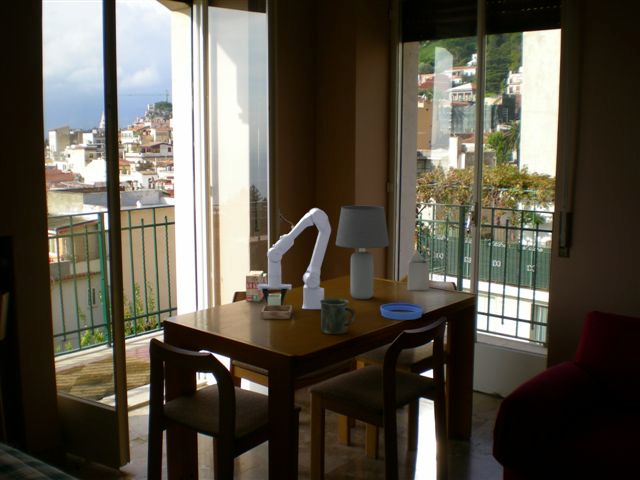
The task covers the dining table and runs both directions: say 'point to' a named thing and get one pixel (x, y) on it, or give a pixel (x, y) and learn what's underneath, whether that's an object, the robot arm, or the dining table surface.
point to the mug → (335, 315)
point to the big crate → (276, 312)
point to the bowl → (401, 311)
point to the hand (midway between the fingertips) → (274, 305)
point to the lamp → (362, 243)
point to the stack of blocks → (255, 285)
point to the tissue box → (418, 273)
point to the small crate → (274, 299)
